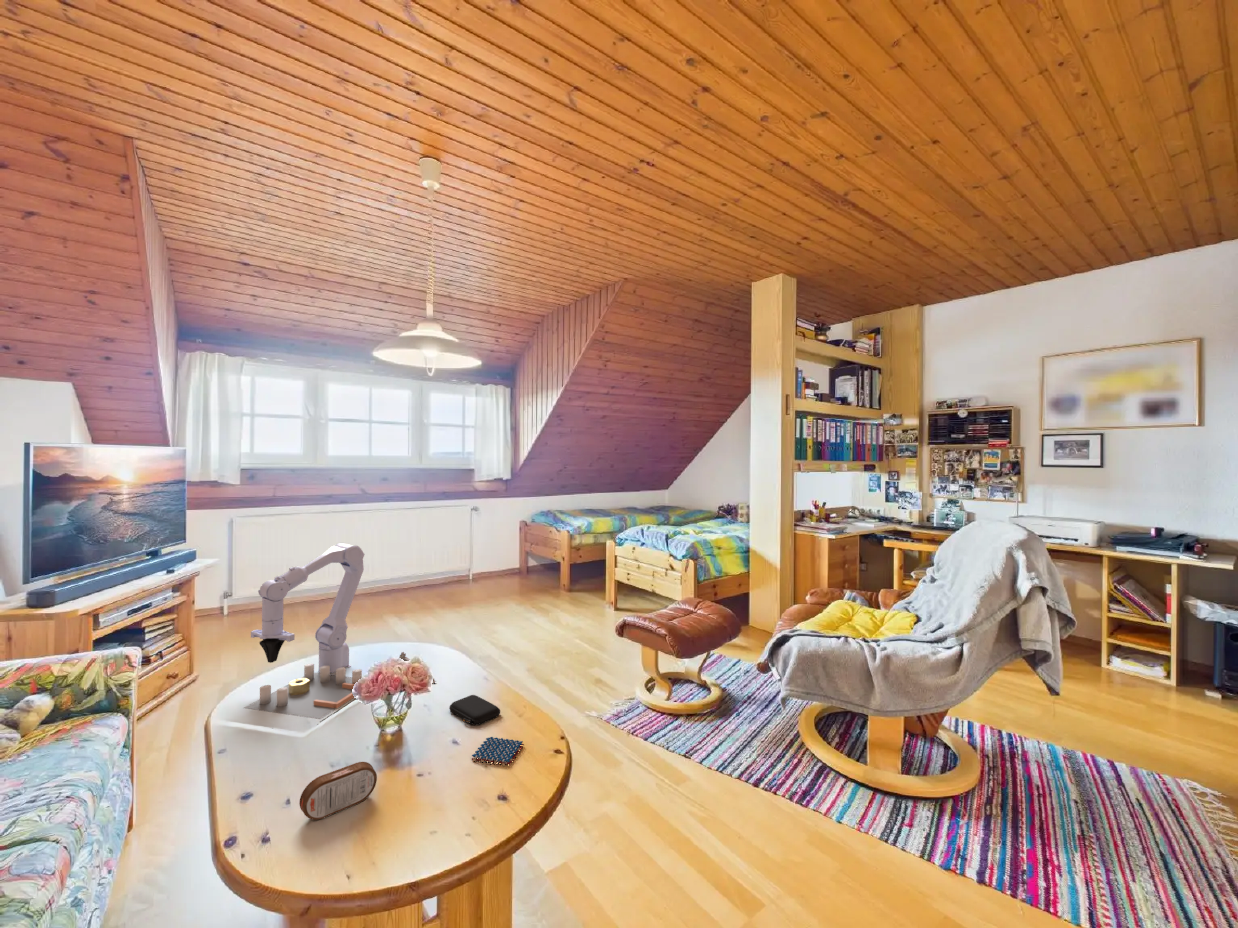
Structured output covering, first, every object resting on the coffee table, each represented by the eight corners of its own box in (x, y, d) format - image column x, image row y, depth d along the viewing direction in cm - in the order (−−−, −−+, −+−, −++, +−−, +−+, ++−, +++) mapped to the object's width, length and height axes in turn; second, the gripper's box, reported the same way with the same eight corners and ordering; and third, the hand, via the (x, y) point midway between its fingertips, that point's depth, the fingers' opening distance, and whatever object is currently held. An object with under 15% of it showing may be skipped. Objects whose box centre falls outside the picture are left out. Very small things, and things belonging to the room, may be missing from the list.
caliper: (398, 669, 190) (398, 651, 189) (401, 668, 191) (401, 650, 190) (434, 684, 178) (434, 666, 178) (436, 683, 179) (437, 665, 179)
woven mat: (510, 769, 132) (510, 761, 132) (470, 763, 134) (470, 755, 134) (525, 747, 142) (525, 739, 142) (488, 741, 145) (488, 734, 144)
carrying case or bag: (443, 713, 159) (472, 730, 150) (443, 703, 159) (472, 720, 150) (473, 701, 167) (503, 716, 158) (473, 691, 167) (503, 706, 158)
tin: (373, 790, 122) (373, 754, 122) (378, 797, 120) (379, 760, 120) (298, 821, 112) (299, 781, 111) (303, 829, 109) (303, 788, 109)
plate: (311, 675, 182) (311, 659, 182) (379, 683, 177) (379, 667, 177) (243, 710, 157) (243, 692, 157) (320, 722, 152) (320, 703, 151)
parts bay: (344, 686, 172) (344, 682, 172) (366, 689, 171) (366, 685, 171) (313, 704, 160) (313, 700, 160) (336, 708, 158) (337, 704, 158)
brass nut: (299, 686, 172) (299, 676, 171) (313, 688, 170) (313, 678, 170) (284, 694, 166) (284, 684, 166) (298, 696, 165) (298, 686, 165)
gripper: (242, 620, 167) (242, 663, 168) (281, 624, 164) (281, 668, 165) (261, 613, 174) (261, 655, 175) (299, 617, 171) (299, 660, 172)
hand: (272, 661), depth 170 cm, fingers closed
